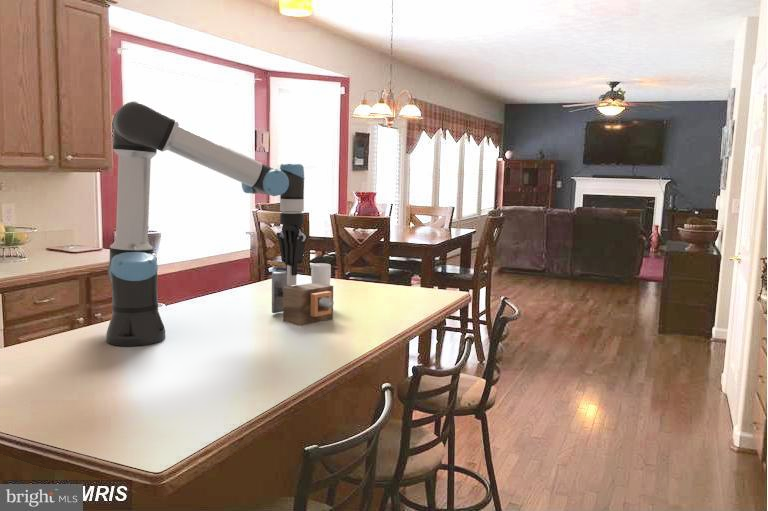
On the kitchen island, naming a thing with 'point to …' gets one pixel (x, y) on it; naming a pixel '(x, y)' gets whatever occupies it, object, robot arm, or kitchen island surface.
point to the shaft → (277, 293)
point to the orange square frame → (314, 303)
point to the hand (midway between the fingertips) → (291, 284)
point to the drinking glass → (321, 273)
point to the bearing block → (303, 303)
